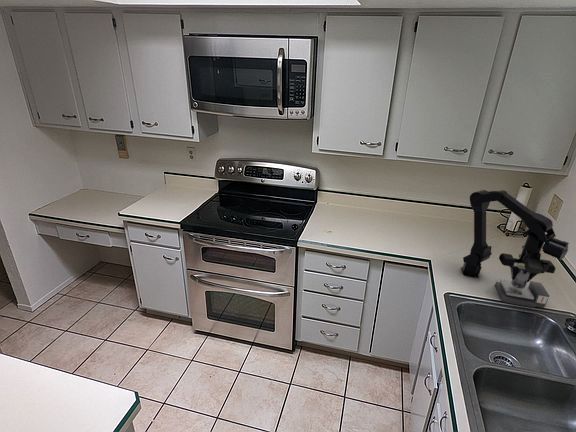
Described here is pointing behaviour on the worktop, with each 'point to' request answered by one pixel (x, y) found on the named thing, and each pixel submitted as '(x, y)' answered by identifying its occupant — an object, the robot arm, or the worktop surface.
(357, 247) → the worktop surface
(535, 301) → the dark grey u-shaped piece
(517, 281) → the cylinder
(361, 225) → the worktop surface
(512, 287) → the pan
